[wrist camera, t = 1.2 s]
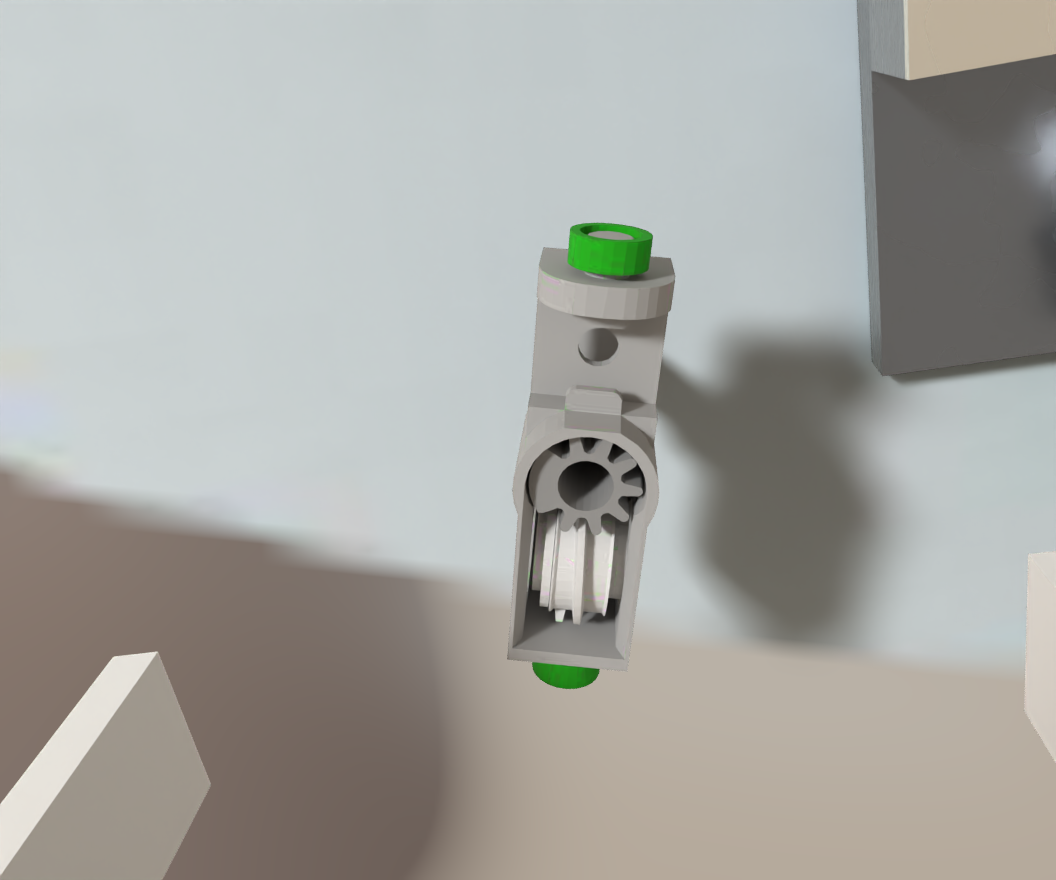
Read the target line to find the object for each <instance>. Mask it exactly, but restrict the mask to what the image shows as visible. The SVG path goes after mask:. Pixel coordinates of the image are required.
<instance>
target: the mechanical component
mask: <svg viewBox="0 0 1056 880" xmlns="http://www.w3.org/2000/svg"><path fill="white" fill-rule="evenodd" d="M652 239H653V236H652V234H651V233H649V232H648V231H646V230H643V229H640V228H636V227H632V226H626V225H619V224H611V223H584V224H578V225H575V226H572V227H571V228H570V238H569V249H557V248H545V247H544V248H543V251H542V255H541V259H540V263H539V274H538V288H537V298H538V301H537V314H536V328H535V341H534V354H533V368H532V381H531V393H530V399H529V404H528V411H527V414H526V418H525V423H524V428H523V433H522V438H521V443H520V448H519V453H518V459H517V464H516V469H515V474H514V480H513V490H512V491H513V499H514V504H515V507H516V510H517V513H518V521H517V534H516V548H515V562H514V575H513V589H512V602H511V616H510V631H509V643H508V658H507V659H509V660H518V661H528V662H532V665H533V670H534V672H535V674H536V675H537V676H538V677H539V678H540V680H542V681H544V682H545V683H547V684H549V685H552V686H555V687H558V688H565V689H575V688H576V689H577V688H581V687H584V686H587V685H589V684H591V683H592V682H593V681H594V680H595V679H596V678H597V676H598V674H599V669H607V670H617V671H627V670H628V663H629V656H630V648H631V641H632V634H633V627H634V619H635V612H636V605H637V598H638V591H639V583H640V576H641V569H642V562H643V554H644V547H645V540H646V533H647V527H648V525H649V523H650V522H651V520H652V518H653V517H654V514H655V511H656V508H657V505H658V498H659V485H658V476H657V466H656V457H655V448H654V440H655V432H656V425H657V411H656V398H657V391H658V383H659V376H660V368H661V361H662V353H663V346H664V339H665V331H666V324H667V316H668V312H669V311H670V310H671V305H672V297H673V290H674V283H675V273H674V269H673V265H672V261H671V259H670V258H662V257H650V255H651V247H652Z"/></svg>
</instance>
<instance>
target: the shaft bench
mask: <svg viewBox="0 0 1056 880" xmlns="http://www.w3.org/2000/svg"><path fill="white" fill-rule="evenodd" d="M857 13H858V37H859V61H860V85H861V109H862V133H863V157H864V182H865V206H866V230H867V254H868V278H869V302H870V326H871V350H872V362H873V364H874V365H875V366H876V368H877V369H878V371H879V372H880V373H881V375H882V376H887V375H894V374H902V373H909V372H916V371H923V370H930V369H938V368H945V367H952V366H959V365H966V364H973V363H981V362H988V361H995V360H1002V359H1009V358H1017V357H1024V356H1031V355H1038V354H1045V353H1053V352H1056V0H857Z"/></svg>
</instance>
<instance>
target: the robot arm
mask: <svg viewBox="0 0 1056 880" xmlns="http://www.w3.org/2000/svg"><path fill="white" fill-rule="evenodd" d="M1024 711H1025V713H1026V715H1027V716H1028V718H1029V720H1030V721H1031V723H1032V725H1033V726H1034V728H1035V730H1036V731H1037V733H1038V735H1039V736H1040V738H1041V740H1042V741H1043V743H1044V745H1045V746H1046V748H1047V750H1048V751H1049V753H1050V755H1051V756H1052V758H1053V760H1054V761H1055V763H1056V551H1051V552H1043V553H1034V554H1028V585H1027V626H1026V668H1025V709H1024ZM210 786H211V784H210V781H209V779H208V776H207V774H206V771H205V769H204V766H203V764H202V761H201V759H200V756H199V754H198V751H197V749H196V746H195V743H194V741H193V738H192V736H191V734H190V731H189V728H188V726H187V724H186V721H185V719H184V716H183V713H182V711H181V708H180V706H179V703H178V701H177V698H176V696H175V693H174V691H173V688H172V686H171V683H170V681H169V678H168V676H167V673H166V671H165V668H164V666H163V663H162V661H161V658H160V656H159V654H158V652H151V653H143V654H133V655H125V656H116V657H113V658H112V659H111V661H110V662H109V663H108V665H107V666H106V667H105V669H104V670H103V671H102V672H101V674H100V675H99V676H98V678H97V679H96V680H95V682H94V683H93V684H92V685H91V687H90V688H89V689H88V691H87V692H86V694H85V695H84V696H83V697H82V699H81V700H80V701H79V703H78V704H77V705H76V706H75V708H74V709H73V710H72V711H71V713H70V714H69V715H68V717H67V718H66V719H65V721H64V722H63V723H62V725H61V726H60V727H59V729H58V730H57V731H56V732H55V734H54V735H53V736H52V738H51V739H50V740H49V741H48V743H47V744H46V745H45V747H44V748H43V749H42V751H41V752H40V753H39V754H38V756H37V757H36V759H35V760H34V761H33V762H32V764H31V765H30V766H29V768H28V769H27V770H26V771H25V773H24V774H23V775H22V777H21V778H20V779H19V781H18V782H17V783H16V784H15V786H14V787H13V788H12V790H11V791H10V792H9V794H8V795H7V796H6V797H5V799H4V800H3V801H2V803H1V804H0V880H162V879H163V877H164V875H165V874H166V871H167V869H168V868H169V866H170V863H171V862H172V860H173V858H174V856H175V854H176V852H177V850H178V848H179V846H180V844H181V842H182V840H183V838H184V836H185V835H186V833H187V831H188V829H189V827H190V825H191V823H192V821H193V819H194V817H195V815H196V813H197V811H198V809H199V807H200V805H201V803H202V801H203V799H204V798H205V796H206V794H207V792H208V790H209V788H210Z"/></svg>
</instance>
